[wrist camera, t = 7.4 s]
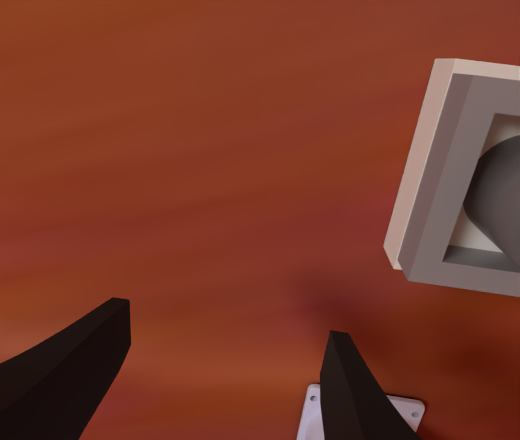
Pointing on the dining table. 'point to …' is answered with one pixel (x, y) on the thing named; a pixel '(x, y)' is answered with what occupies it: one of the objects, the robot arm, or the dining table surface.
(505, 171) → the gray domed cylinder
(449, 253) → the grey square tray
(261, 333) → the dining table surface
